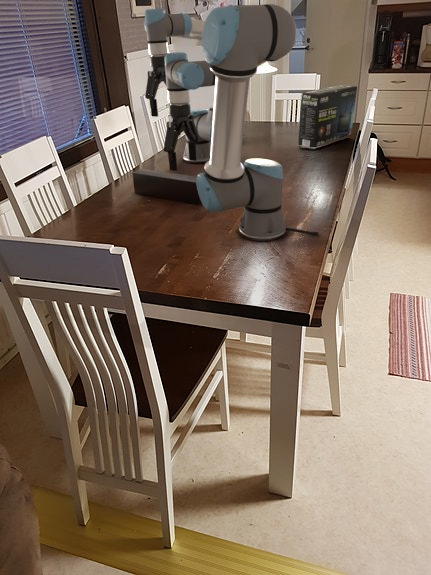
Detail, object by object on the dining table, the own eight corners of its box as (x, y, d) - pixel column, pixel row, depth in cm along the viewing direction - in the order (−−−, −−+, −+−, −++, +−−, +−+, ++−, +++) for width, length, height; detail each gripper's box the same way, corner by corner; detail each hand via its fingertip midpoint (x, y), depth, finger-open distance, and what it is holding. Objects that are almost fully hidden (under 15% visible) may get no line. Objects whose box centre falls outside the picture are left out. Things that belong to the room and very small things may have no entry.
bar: (207, 199, 177) (206, 178, 173) (199, 204, 173) (198, 182, 169) (143, 188, 191) (141, 168, 187) (134, 193, 187) (132, 172, 183)
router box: (314, 151, 231) (318, 94, 217) (296, 148, 237) (299, 92, 224) (352, 138, 251) (358, 85, 238) (335, 135, 258) (340, 83, 245)
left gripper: (168, 52, 188) (173, 106, 199) (131, 58, 170) (138, 118, 181) (183, 52, 185) (187, 107, 196) (147, 58, 166) (154, 119, 177)
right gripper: (188, 97, 167) (191, 155, 178) (149, 109, 148) (155, 173, 159) (206, 97, 164) (208, 157, 175) (168, 110, 145) (173, 176, 156)
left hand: (164, 113), depth 188 cm, fingers open, 13 cm apart
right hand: (183, 165), depth 167 cm, fingers open, 13 cm apart
